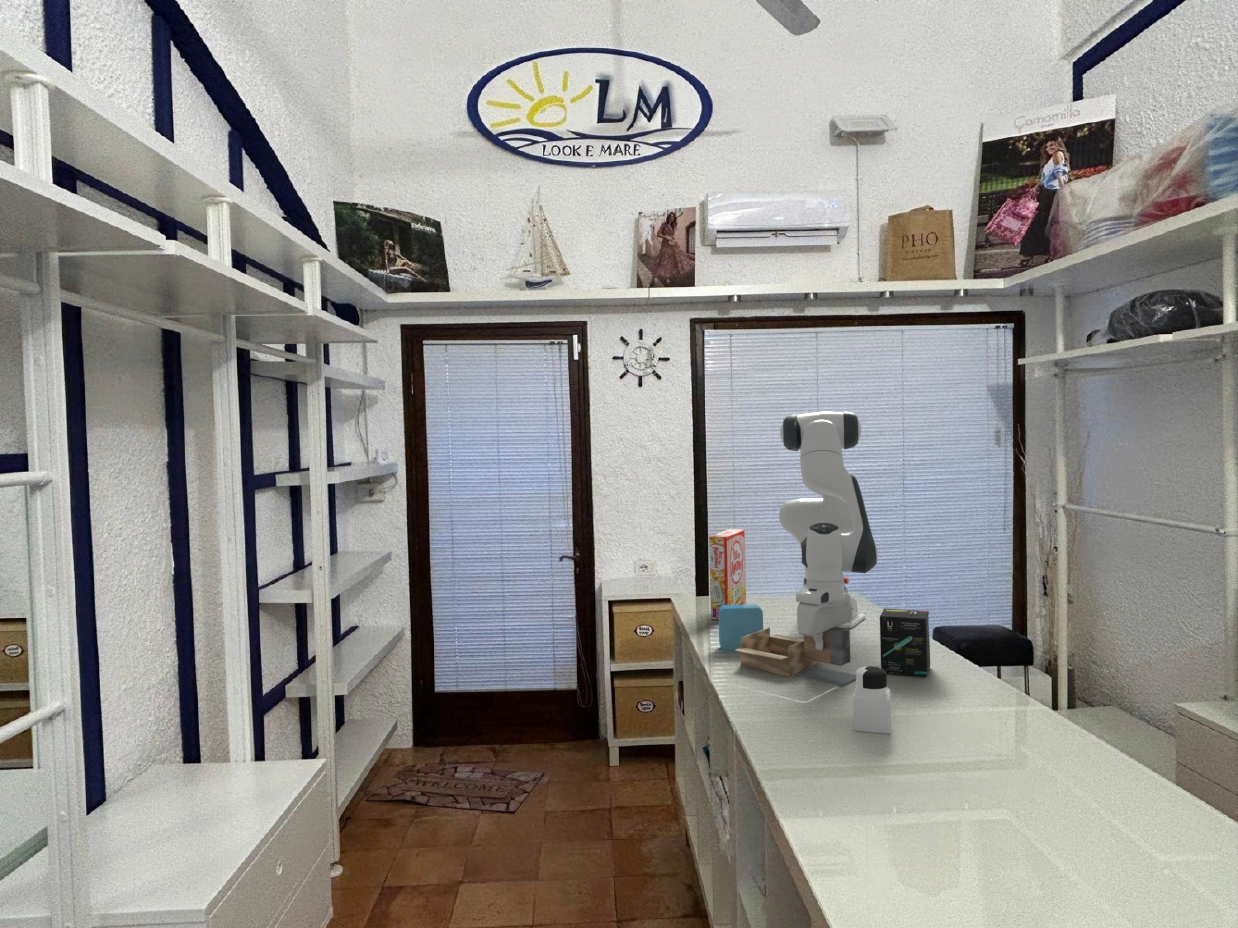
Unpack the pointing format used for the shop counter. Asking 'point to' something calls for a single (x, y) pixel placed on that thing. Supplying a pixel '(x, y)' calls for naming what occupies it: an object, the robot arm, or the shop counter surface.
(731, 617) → the blue rounded block
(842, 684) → the mat
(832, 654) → the walnut box
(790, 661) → the carton
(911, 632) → the tampon box
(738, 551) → the popcorn box
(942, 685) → the shop counter surface
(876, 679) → the medicine bottle
